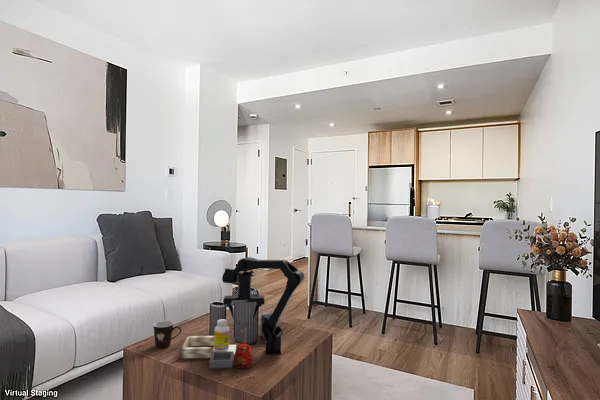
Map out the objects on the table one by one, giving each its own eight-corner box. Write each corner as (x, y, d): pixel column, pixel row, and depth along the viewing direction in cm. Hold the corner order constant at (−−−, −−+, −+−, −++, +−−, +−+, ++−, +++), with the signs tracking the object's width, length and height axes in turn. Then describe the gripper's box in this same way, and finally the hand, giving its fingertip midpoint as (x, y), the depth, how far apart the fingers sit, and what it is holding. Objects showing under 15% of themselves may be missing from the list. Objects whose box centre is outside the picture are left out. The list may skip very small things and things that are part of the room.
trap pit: (233, 358, 152) (233, 351, 152) (232, 368, 143) (232, 360, 143) (212, 358, 151) (212, 351, 151) (209, 368, 142) (209, 361, 142)
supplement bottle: (225, 353, 155) (226, 324, 155) (211, 351, 157) (212, 322, 157) (231, 347, 162) (232, 319, 162) (217, 345, 163) (218, 317, 163)
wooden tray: (214, 344, 166) (215, 335, 166) (211, 357, 152) (211, 348, 152) (187, 344, 164) (187, 336, 164) (181, 358, 150) (181, 349, 150)
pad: (236, 345, 165) (236, 344, 165) (235, 355, 155) (235, 354, 155) (214, 346, 164) (214, 345, 164) (211, 355, 154) (211, 354, 154)
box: (264, 339, 174) (265, 317, 174) (260, 335, 179) (260, 314, 179) (279, 336, 178) (279, 315, 178) (274, 332, 182) (275, 312, 182)
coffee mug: (148, 347, 160) (149, 325, 160) (162, 340, 168) (163, 319, 168) (168, 352, 156) (169, 329, 156) (182, 345, 164) (182, 323, 164)
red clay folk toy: (231, 368, 143) (232, 331, 143) (237, 360, 150) (238, 325, 150) (249, 370, 142) (250, 333, 142) (254, 362, 149) (256, 327, 149)
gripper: (264, 281, 174) (263, 312, 174) (225, 280, 171) (224, 313, 171) (265, 286, 163) (263, 320, 163) (223, 286, 160) (222, 321, 160)
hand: (243, 318), depth 164 cm, fingers open, 9 cm apart
